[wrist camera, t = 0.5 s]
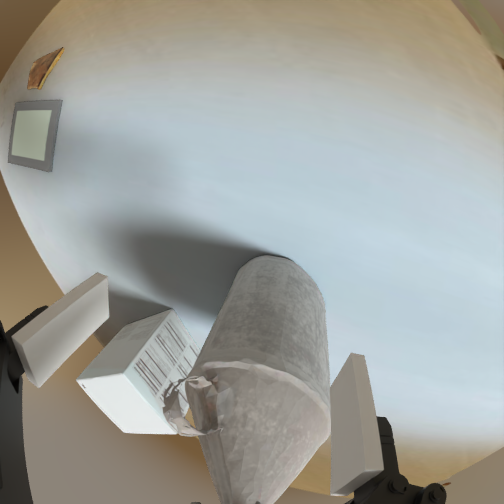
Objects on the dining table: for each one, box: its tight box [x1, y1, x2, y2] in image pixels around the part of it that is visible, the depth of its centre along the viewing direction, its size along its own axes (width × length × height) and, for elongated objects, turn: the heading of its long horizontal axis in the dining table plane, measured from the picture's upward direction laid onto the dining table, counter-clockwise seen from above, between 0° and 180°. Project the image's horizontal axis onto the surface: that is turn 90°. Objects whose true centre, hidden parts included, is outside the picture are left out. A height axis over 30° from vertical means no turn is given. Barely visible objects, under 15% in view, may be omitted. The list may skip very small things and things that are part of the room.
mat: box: [8, 100, 63, 172], centre depth 40 cm, size 14×18×1 cm
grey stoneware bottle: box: [162, 255, 331, 504], centre depth 24 cm, size 13×17×40 cm
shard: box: [27, 47, 64, 90], centre depth 35 cm, size 11×8×2 cm
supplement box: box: [76, 309, 201, 434], centre depth 42 cm, size 13×13×18 cm
